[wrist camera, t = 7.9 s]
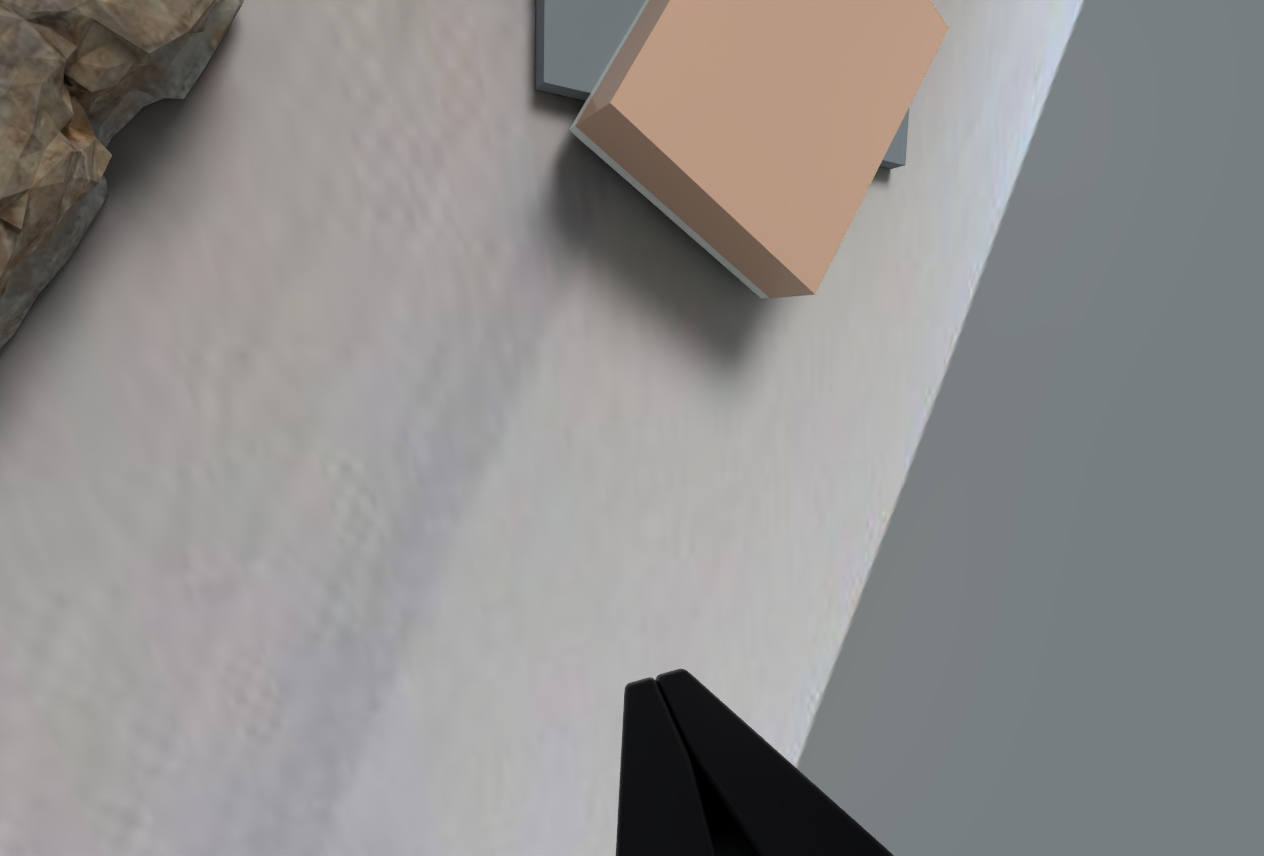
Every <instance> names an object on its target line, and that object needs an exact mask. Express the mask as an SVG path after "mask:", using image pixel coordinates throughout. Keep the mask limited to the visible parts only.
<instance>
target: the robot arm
mask: <svg viewBox="0 0 1264 856" xmlns="http://www.w3.org/2000/svg"><path fill="white" fill-rule="evenodd" d="M616 856H893V855H892V853H890V852H889V851H888V850H887V849H886V848H885V847H884V846H883V845H882V844H880V843H879V842H878V841H877V840H876V839H875V838H874V837H873V836H872V835H870V834H869V833H868V832H867V831H866V830H865V829H864V828H862V827H861V826H860V825H859V824H858V823H857V822H856V821H855V820H854V819H852V818H851V817H850V816H849V815H848V814H847V813H846V812H845V811H844V810H842V809H841V808H840V807H839V806H838V805H837V804H836V803H835V802H833V801H832V800H831V799H830V798H829V797H828V796H827V795H825V794H824V793H823V792H822V791H821V790H820V789H819V788H818V787H817V786H816V785H814V784H813V783H812V782H811V781H810V780H809V779H808V778H807V777H805V776H804V775H803V774H802V773H801V772H800V771H799V770H798V769H797V768H795V767H794V766H793V765H792V764H791V763H790V762H789V761H788V760H786V759H785V758H784V757H783V756H782V755H781V754H780V753H779V752H778V751H776V750H775V749H774V748H773V747H772V746H771V745H770V744H769V743H767V742H766V741H765V740H764V739H763V738H762V737H761V736H760V735H758V734H757V733H756V732H755V731H754V730H753V729H752V728H751V727H750V726H748V725H747V724H746V723H745V722H744V721H743V720H742V719H741V718H739V717H738V716H737V715H736V714H735V713H734V712H733V711H732V710H730V709H729V708H728V707H727V706H726V705H725V704H724V703H723V702H722V701H720V700H719V699H718V698H717V697H716V696H715V695H714V694H713V693H711V692H710V691H709V690H708V689H707V688H706V687H705V686H704V685H703V684H701V683H700V682H699V681H698V680H697V679H696V678H695V677H694V676H692V675H691V674H690V673H689V672H688V671H686V670H684V669H677V670H674V671H670V672H667V673H663V674H660V675H658V676H657V677H656V680H654V679H653V678H646V679H642V680H639V681H635V682H632V683H629V684H627V685H626V687H625V693H624V712H623V731H622V749H621V768H620V787H619V806H618V824H617V843H616Z"/></svg>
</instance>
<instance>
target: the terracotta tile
mask: <svg viewBox="0 0 1264 856" xmlns="http://www.w3.org/2000/svg"><path fill="white" fill-rule="evenodd" d="M948 28H949V27H948V26H947V24H946V23H945V22H944V20H943V19H942V17H941V16H940V14H939V13H938V11H937V10H936V8H935V7H934V5H933V4H932V2H931V1H930V0H646V1H645V2H644V4H643V6H642V7H641V9H640V11H639V12H638V14H637V16H636V17H635V19H634V21H633V22H632V24H631V26H630V28H629V29H628V31H627V33H626V34H625V36H624V38H623V39H622V41H621V43H620V44H619V46H618V48H617V49H616V51H615V53H614V55H613V56H612V58H611V60H610V61H609V63H608V65H607V66H606V68H605V70H604V71H603V73H602V75H601V76H600V78H599V80H598V82H597V83H596V85H595V87H594V88H593V90H592V92H591V93H590V95H589V97H588V98H587V100H586V102H585V103H584V105H583V107H582V109H581V110H580V112H579V114H578V115H577V117H576V119H575V120H574V122H573V124H572V125H571V127H570V129H569V130H570V131H571V132H572V133H573V134H574V135H575V136H576V137H578V138H579V139H580V140H581V141H582V142H583V143H584V144H586V145H587V146H588V147H589V148H590V149H591V150H592V151H594V152H595V153H596V154H597V155H598V156H599V157H600V158H601V159H603V160H604V161H605V162H606V163H607V164H608V165H609V166H611V167H612V168H613V169H614V170H615V171H616V172H617V173H619V174H620V175H621V176H622V177H623V178H624V179H625V180H627V181H628V182H629V183H630V184H631V185H632V186H633V187H635V188H636V189H637V190H638V191H639V192H640V193H641V194H643V195H644V196H645V197H646V198H647V199H648V200H649V201H651V202H652V203H653V204H654V205H655V206H656V207H657V208H659V209H660V210H661V211H662V212H663V213H664V214H665V215H667V216H668V217H669V218H670V219H671V220H672V221H673V222H675V223H676V224H677V225H678V226H679V227H680V228H681V229H683V230H684V231H685V232H686V233H687V234H688V235H689V236H691V237H692V238H693V239H694V240H695V241H696V242H697V243H699V244H700V245H701V246H702V247H703V248H704V249H705V250H707V251H708V252H709V253H710V254H711V255H712V256H713V257H715V258H716V259H717V260H718V261H719V262H720V263H721V264H723V265H724V266H725V267H726V268H727V269H728V270H729V271H730V272H732V273H733V274H734V275H735V276H736V277H737V278H738V279H740V280H741V281H742V282H743V283H744V284H745V285H746V286H748V287H749V288H750V289H751V290H752V291H753V292H754V293H756V294H757V295H758V296H759V297H760V298H761V299H765V298H777V297H789V296H801V295H813V294H815V293H816V291H817V289H818V287H819V285H820V283H821V281H822V279H823V277H824V275H825V273H826V272H827V270H828V268H829V266H830V264H831V262H832V260H833V258H834V256H835V254H836V252H837V250H838V248H839V246H840V244H841V242H842V240H843V238H844V236H845V234H846V232H847V230H848V228H849V226H850V224H851V222H852V220H853V218H854V216H855V214H856V212H857V210H858V208H859V206H860V204H861V202H862V200H863V198H864V196H865V194H866V192H867V190H868V188H869V186H870V184H871V182H872V180H873V178H874V176H875V174H876V172H877V170H878V168H879V166H880V164H881V162H882V160H883V158H884V156H885V154H886V152H887V150H888V148H889V146H890V144H891V142H892V140H893V138H894V136H895V134H896V132H897V130H898V128H899V126H900V124H901V122H902V120H903V118H904V116H905V114H906V112H907V110H908V108H909V106H910V104H911V102H912V100H913V98H914V96H915V94H916V92H917V90H918V88H919V86H920V84H921V82H922V80H923V78H924V76H925V74H926V72H927V70H928V68H929V66H930V64H931V62H932V60H933V58H934V56H935V54H936V52H937V50H938V48H939V46H940V44H941V42H942V40H943V38H944V36H945V34H946V32H947V30H948Z"/></svg>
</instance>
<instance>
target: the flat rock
mask: <svg viewBox="0 0 1264 856" xmlns="http://www.w3.org/2000/svg"><path fill="white" fill-rule="evenodd" d="M242 4H243V0H0V348H1V347H2V346H3V345H4V344H5V343H6V342H7V341H8V340H9V339H10V338H11V337H12V336H13V335H14V333H15V332H16V330H17V329H18V327H19V325H20V324H21V322H22V320H23V319H24V317H25V316H26V314H27V312H28V311H29V309H30V307H31V306H32V304H33V303H34V301H35V299H36V298H37V296H38V295H39V294H40V292H41V291H42V290H43V289H44V288H45V287H46V285H47V284H48V283H49V282H50V281H51V280H52V278H53V277H54V276H55V275H56V274H57V272H58V271H59V270H60V269H61V268H62V267H63V265H64V264H65V263H66V262H67V261H68V260H69V258H70V256H71V255H72V253H73V252H74V250H75V248H76V247H77V245H78V244H79V242H80V240H81V239H82V237H83V236H84V234H85V232H86V231H87V229H88V228H89V226H90V224H91V223H92V221H93V219H94V218H95V216H96V215H97V213H98V211H99V210H100V208H101V207H102V205H103V203H104V202H105V200H106V199H107V197H108V192H107V180H106V179H105V177H104V176H103V174H104V172H105V169H106V167H107V165H108V163H109V161H110V159H111V157H112V154H111V153H110V152H109V151H108V150H107V149H106V147H107V146H108V144H109V142H110V141H111V139H112V137H113V136H114V135H115V134H116V133H118V132H119V131H120V130H121V129H122V128H123V127H124V126H125V125H126V124H128V123H129V122H130V120H131V119H132V118H133V117H134V116H135V115H136V114H137V113H138V112H139V111H140V110H141V109H142V107H144V106H147V105H149V104H151V103H154V102H156V101H159V100H161V99H164V98H171V99H184V98H185V97H186V95H187V94H188V92H189V91H190V90H191V88H192V87H193V85H194V84H195V82H196V81H197V79H198V78H199V76H200V75H201V73H202V72H203V70H204V68H205V67H206V65H207V63H208V62H209V60H210V58H211V57H212V55H213V53H214V52H215V50H216V48H217V47H218V45H219V43H220V42H221V40H222V38H223V36H224V35H225V33H226V31H227V30H228V28H229V26H230V24H231V23H232V21H233V19H234V18H235V16H236V14H237V12H238V11H239V9H240V7H241V6H242Z"/></svg>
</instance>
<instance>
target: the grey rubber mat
mask: <svg viewBox="0 0 1264 856" xmlns="http://www.w3.org/2000/svg"><path fill="white" fill-rule="evenodd" d="M645 1H646V0H536V83H535V90H540V91H544V92H549V93H553V94H558V95H562V96H567V97H571V98H576V99H580V100H585V101H586V100H587V98H588V97H589V95H590V93H591V92H592V90H593V88H594V87H595V85H596V83H597V82H598V80H599V78H600V76H601V75H602V73H603V71H604V70H605V68H606V66H607V65H608V63H609V61H610V60H611V58H612V56H613V55H614V53H615V51H616V49H617V48H618V46H619V44H620V43H621V41H622V39H623V38H624V36H625V34H626V33H627V31H628V29H629V28H630V26H631V24H632V22H633V21H634V19H635V17H636V16H637V14H638V12H639V11H640V9H641V7H642V6H643V4H644V2H645ZM908 116H909V108H908V110H907V112H906V114H905V116H904V118H903V120H902V122H901V124H900V126H899V128H898V130H897V132H896V134H895V136H894V138H893V140H892V142H891V144H890V146H889V148H888V150H887V152H886V154H885V156H884V158H883V160H882V162H881V164H880V166H881V167H885V168H890V169H893V168H897V167H900V166H904V165H905V160H906V145H907V131H908Z"/></svg>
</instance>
